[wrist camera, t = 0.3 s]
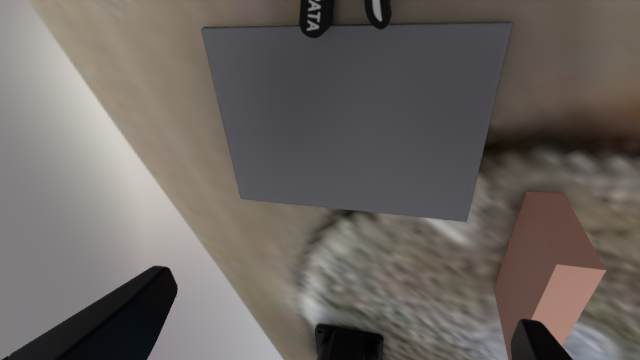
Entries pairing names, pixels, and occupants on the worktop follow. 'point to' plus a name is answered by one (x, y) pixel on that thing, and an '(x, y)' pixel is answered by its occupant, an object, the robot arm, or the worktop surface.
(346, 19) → the worktop surface
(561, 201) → the card box
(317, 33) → the nameplate
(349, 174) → the mat
